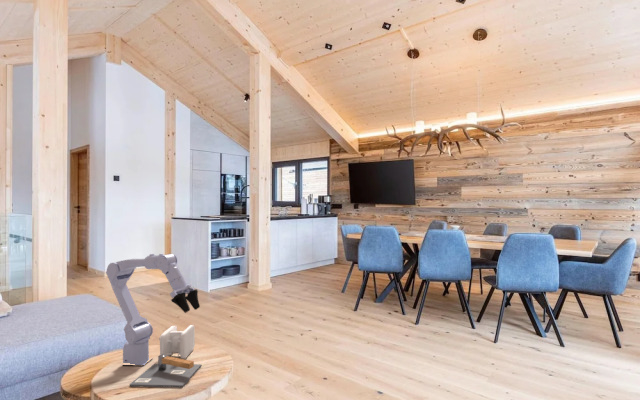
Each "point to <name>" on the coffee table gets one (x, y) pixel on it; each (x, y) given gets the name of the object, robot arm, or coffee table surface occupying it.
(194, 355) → the coffee table surface
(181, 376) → the panel
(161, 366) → the bar
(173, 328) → the white notched block
